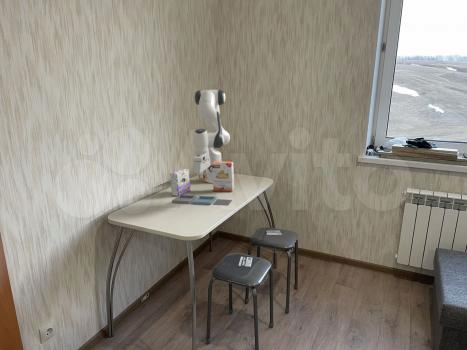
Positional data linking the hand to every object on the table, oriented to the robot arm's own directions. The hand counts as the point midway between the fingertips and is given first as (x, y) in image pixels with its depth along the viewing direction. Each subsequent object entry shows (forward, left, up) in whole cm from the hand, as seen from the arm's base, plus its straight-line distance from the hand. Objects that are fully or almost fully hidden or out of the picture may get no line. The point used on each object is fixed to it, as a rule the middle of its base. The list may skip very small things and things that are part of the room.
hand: (203, 176), depth 221 cm
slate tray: (0, 0, -17) cm, 17 cm away
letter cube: (0, 0, -2) cm, 2 cm away
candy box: (-15, -23, -17) cm, 32 cm away
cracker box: (-26, +5, -17) cm, 31 cm away
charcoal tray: (0, -14, -17) cm, 22 cm away
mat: (0, +12, -17) cm, 21 cm away
